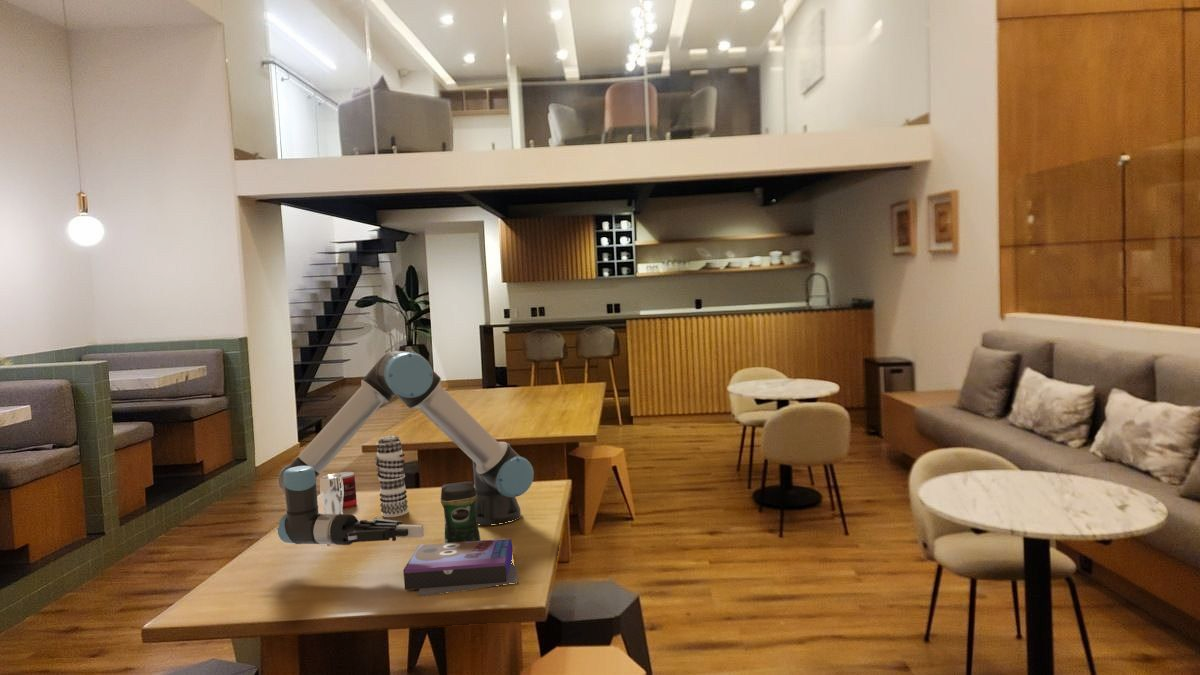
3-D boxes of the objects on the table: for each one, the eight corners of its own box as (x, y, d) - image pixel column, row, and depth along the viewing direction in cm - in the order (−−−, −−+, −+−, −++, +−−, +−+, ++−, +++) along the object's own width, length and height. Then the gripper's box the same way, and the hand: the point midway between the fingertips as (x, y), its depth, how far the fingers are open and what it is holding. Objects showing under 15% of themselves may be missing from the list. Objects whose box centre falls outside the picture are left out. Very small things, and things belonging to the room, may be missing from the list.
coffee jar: (479, 543, 208) (474, 477, 207) (482, 552, 201) (476, 484, 199) (444, 548, 206) (439, 481, 205) (445, 557, 198) (439, 488, 197)
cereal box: (418, 545, 193) (511, 538, 194) (420, 563, 194) (513, 556, 194) (403, 569, 176) (505, 562, 177) (404, 589, 176) (507, 582, 177)
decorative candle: (396, 507, 250) (390, 433, 249) (415, 511, 245) (409, 435, 243) (374, 515, 243) (367, 439, 241) (392, 518, 237) (386, 440, 236)
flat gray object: (512, 552, 199) (512, 550, 199) (518, 583, 177) (518, 581, 177) (423, 563, 195) (423, 561, 195) (418, 596, 173) (418, 594, 173)
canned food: (335, 504, 260) (333, 472, 259) (359, 502, 261) (356, 470, 260) (329, 510, 252) (327, 478, 252) (354, 508, 253) (351, 476, 252)
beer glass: (338, 526, 233) (334, 479, 232) (318, 526, 234) (314, 479, 233) (350, 519, 239) (346, 473, 239) (331, 519, 241) (327, 473, 240)
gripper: (353, 535, 196) (435, 537, 190) (323, 553, 183) (409, 555, 177) (351, 507, 195) (433, 508, 189) (320, 522, 183) (407, 524, 176)
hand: (421, 531), depth 183 cm, fingers closed
